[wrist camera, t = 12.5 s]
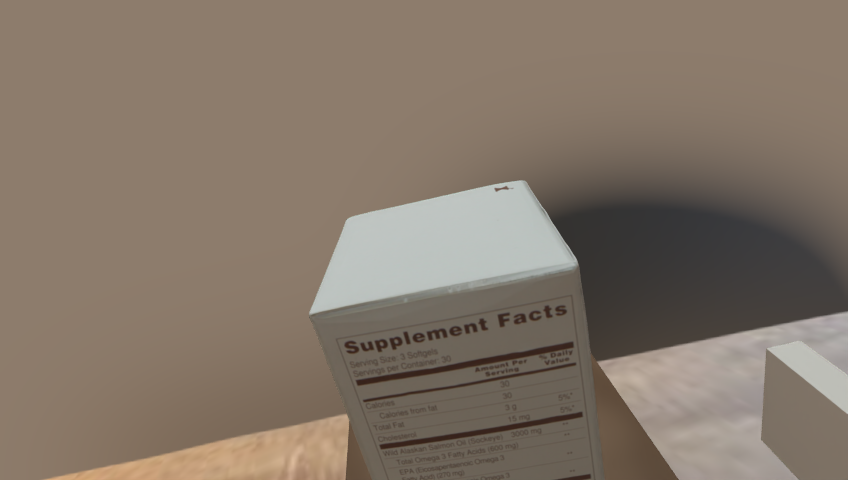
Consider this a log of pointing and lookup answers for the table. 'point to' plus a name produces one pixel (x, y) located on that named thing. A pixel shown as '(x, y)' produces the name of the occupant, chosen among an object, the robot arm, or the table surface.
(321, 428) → the table surface
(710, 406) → the table surface
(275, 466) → the table surface
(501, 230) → the supplement box
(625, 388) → the table surface
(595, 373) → the walnut stand
